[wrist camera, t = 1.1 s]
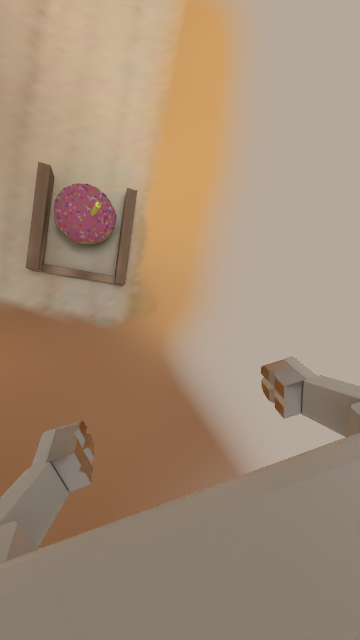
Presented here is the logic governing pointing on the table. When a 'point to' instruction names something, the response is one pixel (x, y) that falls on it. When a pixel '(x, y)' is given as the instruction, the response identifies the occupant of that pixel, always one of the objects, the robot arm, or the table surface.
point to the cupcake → (84, 214)
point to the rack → (41, 228)
